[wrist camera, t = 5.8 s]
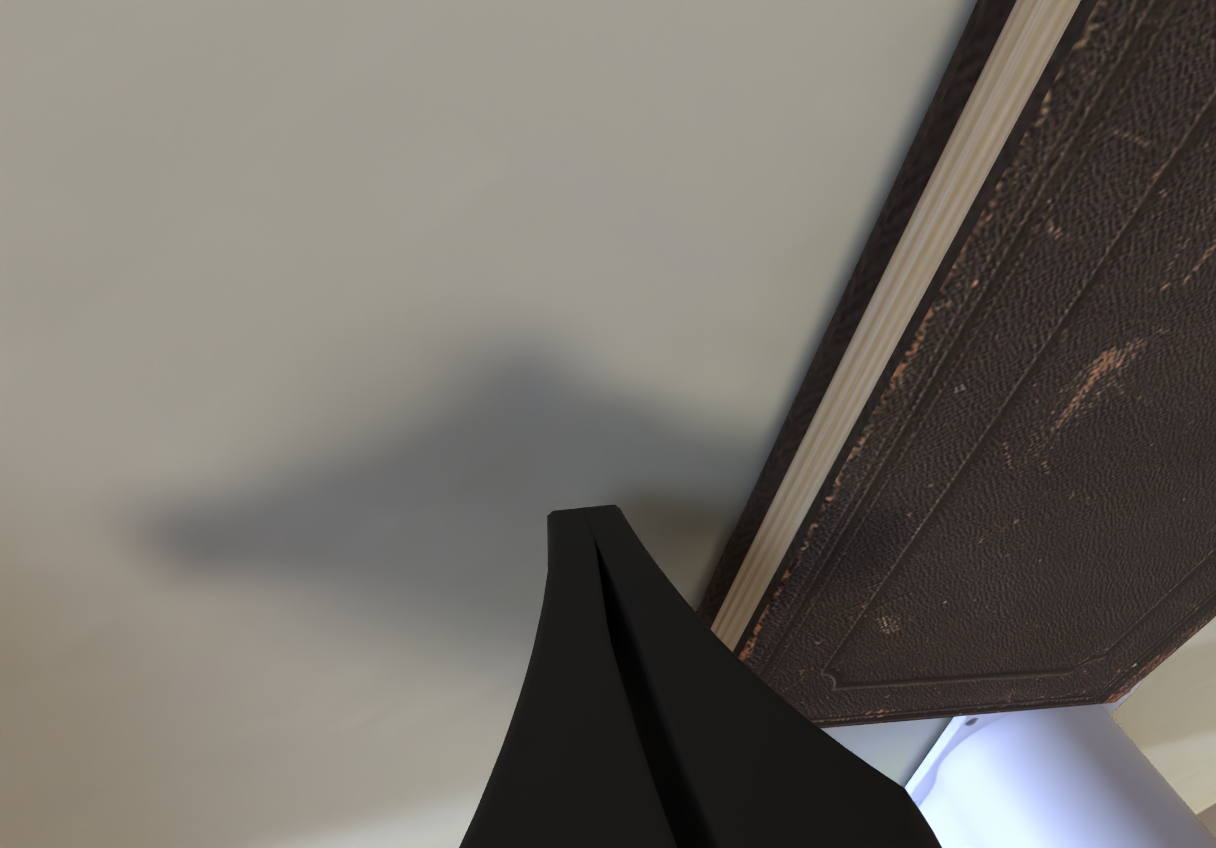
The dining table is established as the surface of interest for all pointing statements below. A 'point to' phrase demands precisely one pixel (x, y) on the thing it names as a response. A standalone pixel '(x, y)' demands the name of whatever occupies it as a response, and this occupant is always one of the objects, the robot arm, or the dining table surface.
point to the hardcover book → (1007, 393)
